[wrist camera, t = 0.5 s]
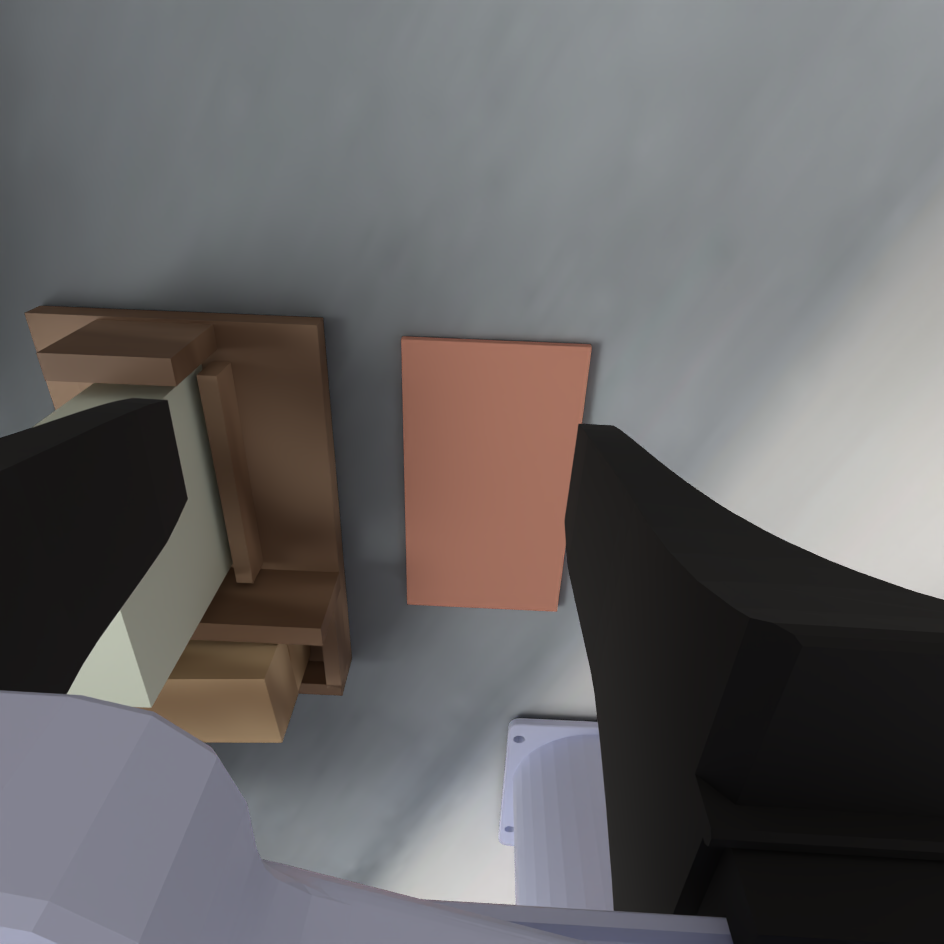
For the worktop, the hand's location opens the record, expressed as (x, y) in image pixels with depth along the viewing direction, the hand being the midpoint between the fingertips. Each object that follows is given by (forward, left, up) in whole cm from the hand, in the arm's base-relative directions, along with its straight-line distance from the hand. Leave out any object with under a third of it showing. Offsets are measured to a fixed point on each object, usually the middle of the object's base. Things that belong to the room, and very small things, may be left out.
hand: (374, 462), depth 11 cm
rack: (-8, +8, -10) cm, 15 cm away
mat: (-6, -2, -10) cm, 12 cm away
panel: (-6, +8, -9) cm, 14 cm away
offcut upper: (-13, +8, -7) cm, 17 cm away
